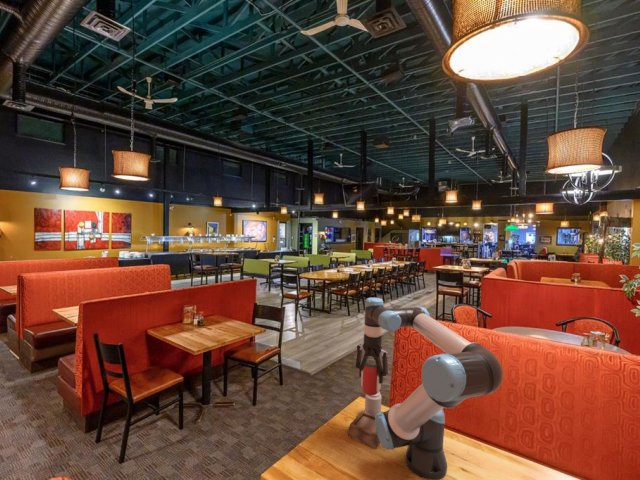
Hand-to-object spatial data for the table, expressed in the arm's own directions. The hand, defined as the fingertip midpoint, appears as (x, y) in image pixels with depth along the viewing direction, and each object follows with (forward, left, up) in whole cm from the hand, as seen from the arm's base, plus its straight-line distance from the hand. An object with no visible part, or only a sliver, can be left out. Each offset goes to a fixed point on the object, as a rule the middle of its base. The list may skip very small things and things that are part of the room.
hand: (370, 387), depth 136 cm
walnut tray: (0, 0, -21) cm, 21 cm away
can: (+4, -13, -21) cm, 25 cm away
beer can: (0, 0, -2) cm, 2 cm away
